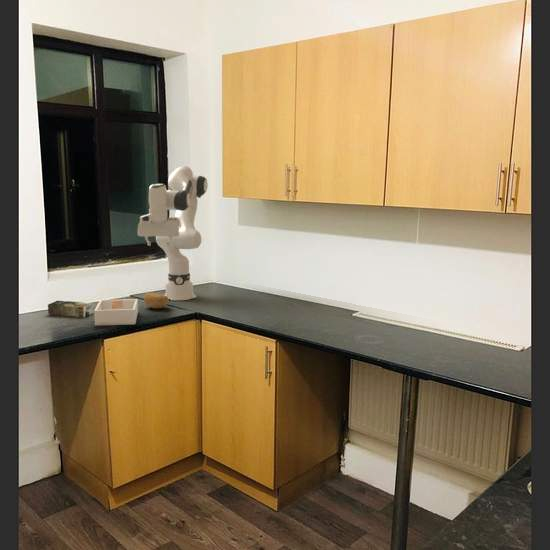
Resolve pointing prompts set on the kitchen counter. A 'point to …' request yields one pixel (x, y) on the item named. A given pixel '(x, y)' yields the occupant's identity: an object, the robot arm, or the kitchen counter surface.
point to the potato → (155, 300)
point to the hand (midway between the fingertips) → (158, 245)
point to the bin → (116, 313)
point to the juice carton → (70, 308)
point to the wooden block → (117, 304)
